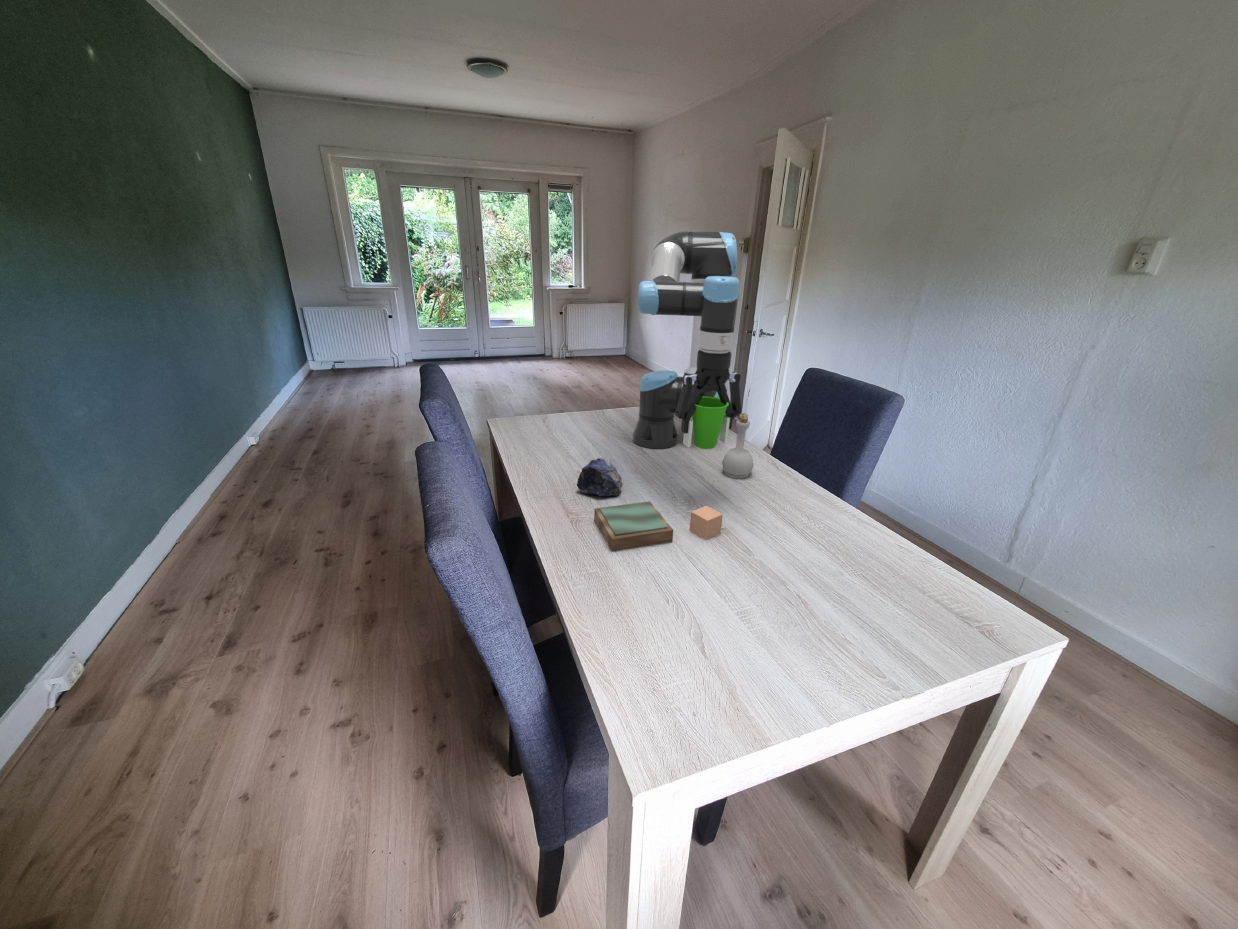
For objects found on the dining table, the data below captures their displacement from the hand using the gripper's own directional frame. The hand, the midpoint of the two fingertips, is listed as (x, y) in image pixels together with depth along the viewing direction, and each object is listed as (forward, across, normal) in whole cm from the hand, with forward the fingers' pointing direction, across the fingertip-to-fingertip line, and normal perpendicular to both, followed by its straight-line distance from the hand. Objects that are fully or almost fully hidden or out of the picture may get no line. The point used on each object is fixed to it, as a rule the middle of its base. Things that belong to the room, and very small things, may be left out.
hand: (705, 443), depth 120 cm
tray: (+16, -21, -8) cm, 28 cm away
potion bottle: (+17, +19, +14) cm, 29 cm away
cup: (+1, 0, 0) cm, 1 cm away
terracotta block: (+16, -5, -13) cm, 22 cm away
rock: (+17, -22, +13) cm, 30 cm away
